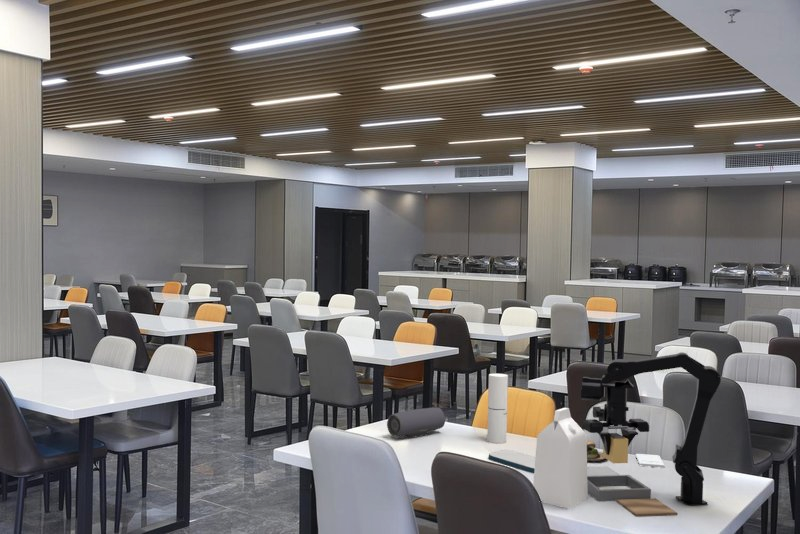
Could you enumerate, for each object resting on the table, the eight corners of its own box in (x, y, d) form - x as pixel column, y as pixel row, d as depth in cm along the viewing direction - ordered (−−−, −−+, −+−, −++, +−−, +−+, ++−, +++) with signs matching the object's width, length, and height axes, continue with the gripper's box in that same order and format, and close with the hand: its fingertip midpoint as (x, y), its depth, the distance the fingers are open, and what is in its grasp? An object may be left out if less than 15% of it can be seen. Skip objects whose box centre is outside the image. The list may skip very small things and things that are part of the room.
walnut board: (677, 514, 202) (677, 512, 202) (636, 516, 200) (636, 514, 200) (655, 500, 213) (655, 498, 213) (616, 501, 212) (616, 499, 212)
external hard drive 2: (659, 459, 259) (664, 469, 247) (635, 458, 261) (639, 467, 249) (659, 455, 259) (665, 464, 247) (635, 453, 261) (639, 462, 249)
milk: (551, 489, 221) (553, 403, 221) (587, 498, 214) (589, 409, 214) (532, 499, 212) (534, 409, 212) (568, 508, 205) (571, 415, 204)
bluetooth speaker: (429, 429, 296) (430, 404, 295) (445, 433, 288) (446, 408, 288) (385, 437, 281) (386, 410, 281) (401, 442, 274) (401, 415, 274)
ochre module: (627, 462, 217) (628, 437, 216) (613, 463, 216) (613, 438, 216) (617, 456, 224) (617, 432, 223) (603, 456, 223) (603, 432, 223)
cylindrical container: (483, 439, 280) (485, 374, 280) (499, 438, 283) (501, 373, 283) (493, 444, 274) (495, 377, 273) (510, 442, 277) (511, 376, 276)
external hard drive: (561, 470, 244) (561, 464, 243) (538, 476, 236) (538, 470, 236) (507, 454, 262) (507, 448, 261) (484, 459, 254) (484, 454, 254)
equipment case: (650, 499, 214) (650, 489, 214) (598, 501, 212) (598, 490, 212) (608, 470, 242) (608, 461, 242) (561, 471, 240) (562, 462, 240)
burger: (572, 462, 252) (572, 440, 252) (572, 453, 264) (573, 432, 264) (608, 465, 250) (609, 443, 249) (607, 456, 261) (608, 435, 261)
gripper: (633, 396, 229) (632, 446, 229) (576, 397, 226) (575, 448, 226) (650, 404, 218) (649, 456, 218) (591, 404, 215) (589, 458, 215)
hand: (615, 454), depth 220 cm, fingers closed on ochre module, 4 cm apart
